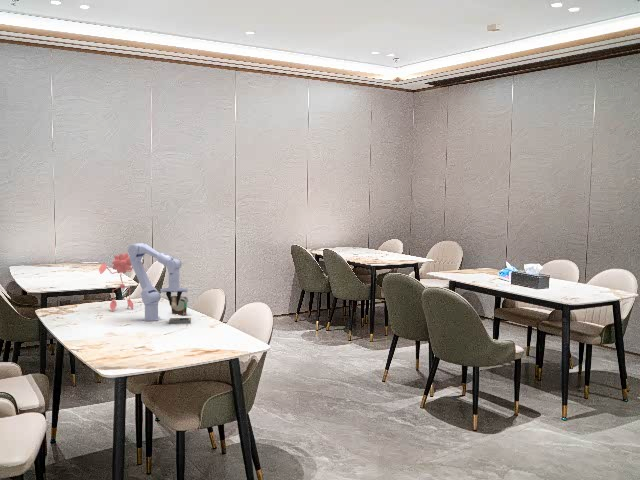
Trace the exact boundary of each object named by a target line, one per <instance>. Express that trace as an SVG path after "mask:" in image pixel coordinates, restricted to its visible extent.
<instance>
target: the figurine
mask: <svg viewBox="0 0 640 480" xmlns="http://www.w3.org/2000/svg"><path fill="white" fill-rule="evenodd" d="M113 258H114V260H113V261H112V262H111V263H112V265H113V266H112V269H113V270H116V271H115V272H112V271H111V270H110V269H109V267H108V266H107V265H106V263H103V264H101V265H100V266H99V269H98V271H99V274H101V275H102V274H103V273H104V272H105V271H106V269H107V270H108V271H109V273H110V274H111V275H113V274H116V273H117V274H120V276H119V277H120V280H121V284H119V286H118V287H116V288H115V289H113V290H112V292H111V293H114V291H115V290H117V289H120V288H121V289H124V288H126V289H128V290H130V287H127V286H125V284H124V283H123V278H122V273H123V274H126V273H127V272H129V273H130V272H131V271H132V270H133V267H131V266H132V265H131V262H130V256H129V253H128V252H125V253H124V254H123V253H119V255H118V254H115V255H114V257H113ZM142 265H143V267H144V268H145V266H144V264H143V263H142ZM128 293H129V295H128V296H129V298H128V299H127V301H126V302H127V309H129V308H131V309H132V310H134V302H133V301H132V300H131V291H129V292H128ZM114 297H115V296H114V295H112V300H111V301H110V304H109V308H110V310H111V312H113V311H115V309H117V305H118V303H117V300H115V298H114ZM139 311H141V310H136V311H135V313H137V312H139ZM130 313H131V312H129V314H130Z"/></svg>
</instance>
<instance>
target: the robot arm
mask: <svg viewBox="0 0 640 480" xmlns="http://www.w3.org/2000/svg"><path fill="white" fill-rule="evenodd" d="M127 253H128V256H129V257H130V262H131V266H132V267H133V268H132V267H131V268H132V270H133V272H134V273H135V276H136V278H137V280H138V283H139V284H140V285H139V286H140V288H141V289H142V290H141V292H140V295H141V301H142V303H143V305H144V317H143V318H144V319H143V322H154V321H155V322H157V321H159V320H160V316H159V303H160V300H161V293H165V295H166V297H167V299H168V303H169V306H170V307H171V296H172V293H176V296H177V306H178V304H179V299H180V296H182V293H188V291H189V290H188V287H187V288H183V287H182V288H181V287H180V269H181V268H182V261H181V260H180V258H174V257H173V256H171V255H168V253H167V252H161V253H160V252H158V251H157V250H156V249H154V248H153V247H151V246H150V245H149V244H148V243H147V244H146V243H145V242H140V243H131V244H130V245H129V246H128V249H127ZM146 254H147V255H149V256H151V257H153V258H155V259H157V262H158V263H160V264H161V265H163V266H165V267H166V269H167V272H168V288H167V287H166V288H160V290H159V291H158V290H157V288H156V287H155V286H153V284H152V282H151V280H150V278H149V276H148V273H147V271H146V269H145V266H144V264H143V263H142V260H143V257H144V256H145V255H146ZM142 264H143V265H142ZM143 266H144V267H143Z"/></svg>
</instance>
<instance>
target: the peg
mask: <svg viewBox="0 0 640 480" xmlns="http://www.w3.org/2000/svg"><path fill="white" fill-rule="evenodd" d="M170 308H171V309H172V308H177V295H171V306H170Z"/></svg>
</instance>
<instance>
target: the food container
mask: <svg viewBox="0 0 640 480" xmlns="http://www.w3.org/2000/svg"><path fill="white" fill-rule="evenodd" d="M188 302H189V298H188V297H187V296H182V295H181V296H180V299H179V304H178V306H177V308H171V314H172V315H176V314H178V315H177V316H182V317H184V316H187V309H188Z"/></svg>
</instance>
